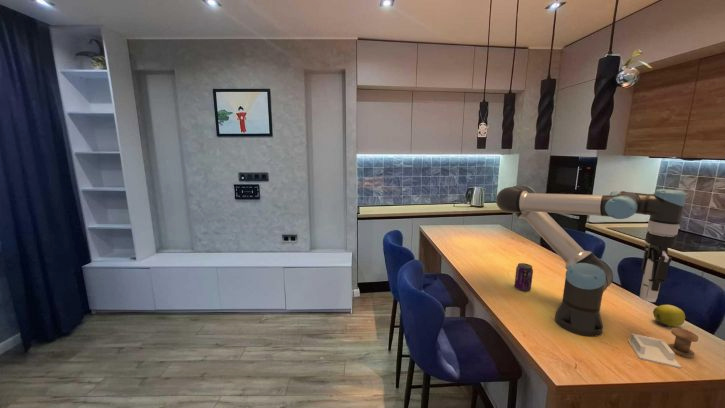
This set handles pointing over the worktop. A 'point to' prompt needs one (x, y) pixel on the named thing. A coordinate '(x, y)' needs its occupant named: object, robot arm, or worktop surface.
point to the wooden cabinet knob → (683, 342)
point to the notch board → (653, 350)
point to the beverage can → (523, 277)
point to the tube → (647, 281)
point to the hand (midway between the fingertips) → (648, 294)
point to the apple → (669, 315)
